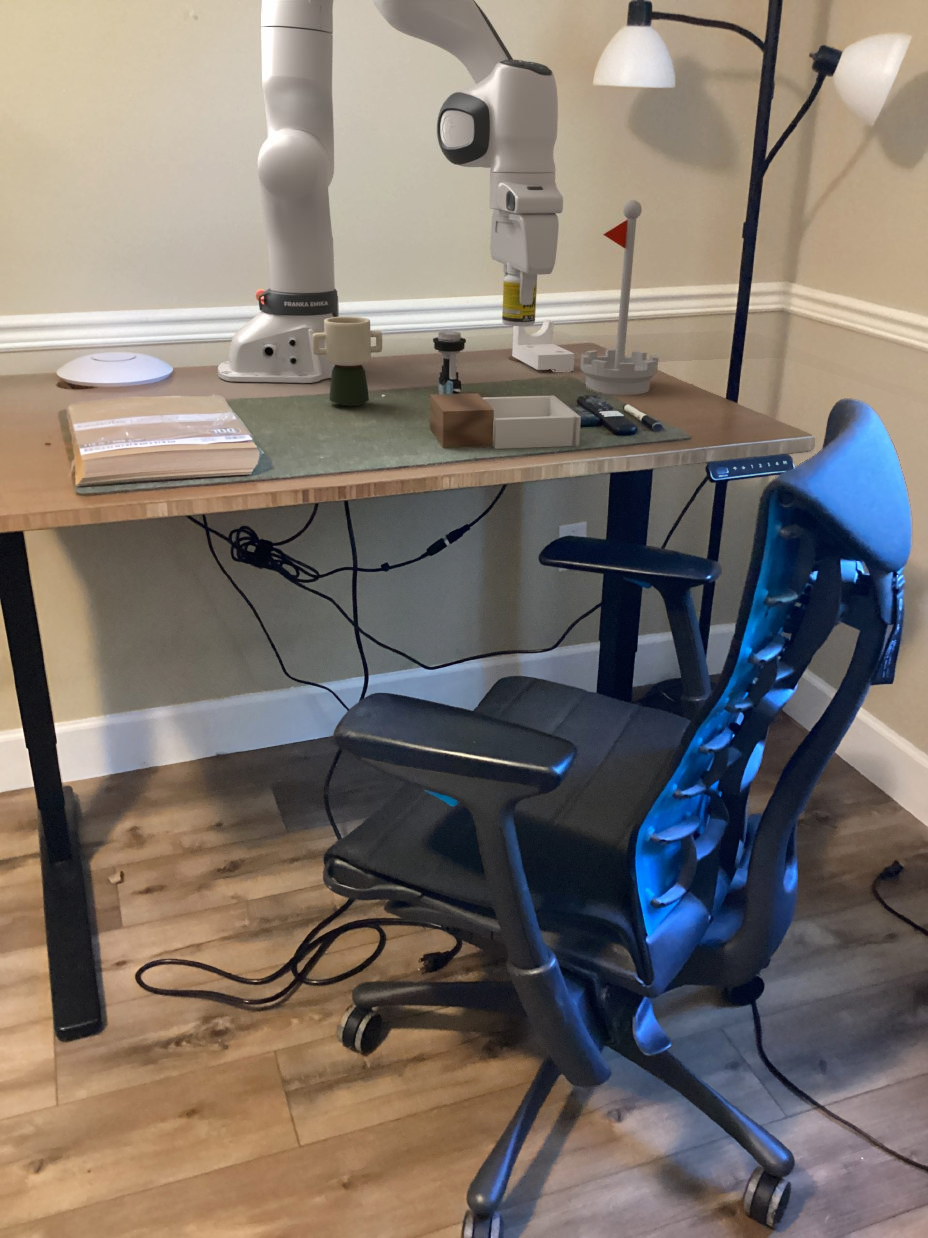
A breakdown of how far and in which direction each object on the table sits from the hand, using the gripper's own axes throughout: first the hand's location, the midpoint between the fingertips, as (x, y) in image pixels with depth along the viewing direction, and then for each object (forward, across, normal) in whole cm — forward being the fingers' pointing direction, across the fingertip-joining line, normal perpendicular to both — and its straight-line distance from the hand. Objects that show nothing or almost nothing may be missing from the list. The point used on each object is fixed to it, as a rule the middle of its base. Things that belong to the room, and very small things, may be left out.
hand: (519, 300), depth 144 cm
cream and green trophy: (+18, -15, -23) cm, 33 cm away
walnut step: (+18, +6, -10) cm, 21 cm away
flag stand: (+18, -21, +24) cm, 37 cm away
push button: (+18, -19, -6) cm, 26 cm away
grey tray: (+18, +6, 0) cm, 19 cm away
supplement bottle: (+3, 0, 0) cm, 3 cm away
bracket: (+18, -40, +17) cm, 48 cm away
